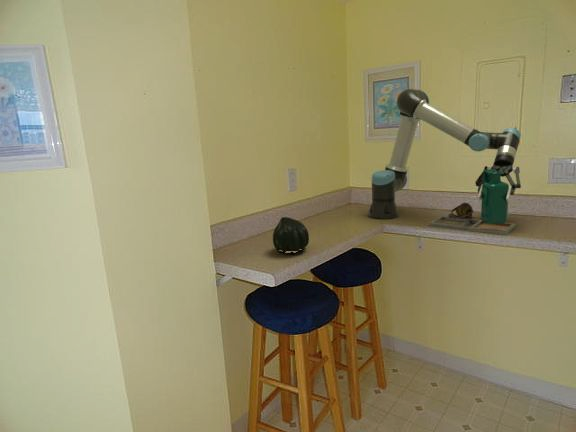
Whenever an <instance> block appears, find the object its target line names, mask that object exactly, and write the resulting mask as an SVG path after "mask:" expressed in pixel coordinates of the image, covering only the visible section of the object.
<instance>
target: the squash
mask: <svg viewBox="0 0 576 432" xmlns="http://www.w3.org/2000/svg"><path fill="white" fill-rule="evenodd" d="M309 241H310V235H309V231H308V229H307V227H306V226H305V225H304V223H302V221H299V220H297V219H293V218H292V217H287V216H282V217H281V218H280V220H278V223H277V225H276V226H275V228H274V230H273V233H272V244H273V247H274V248H275V250H277V251H278V250H282V251H283V252H286V251H298V250H299V249H304V250H305V248H306V247H307V246H308V244H309ZM298 252H299V251H298Z"/></svg>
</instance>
